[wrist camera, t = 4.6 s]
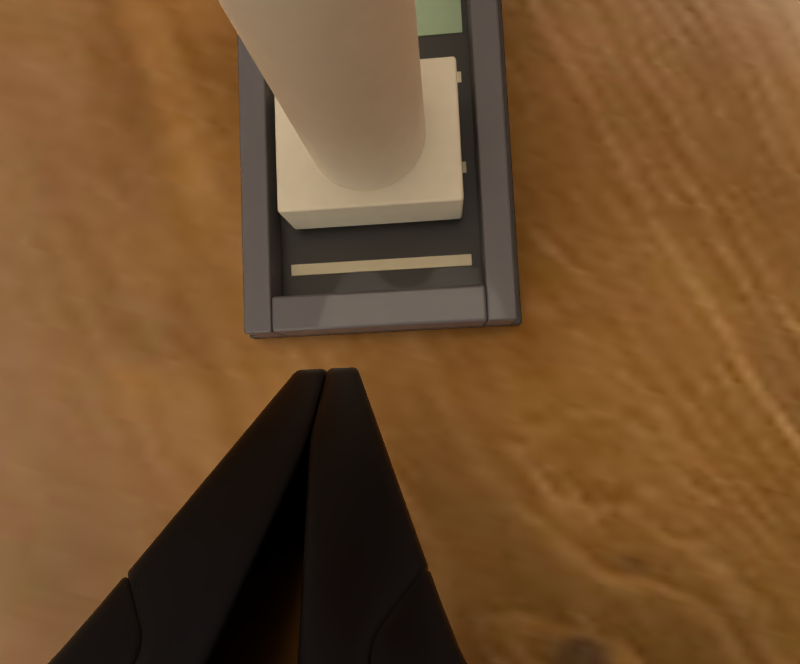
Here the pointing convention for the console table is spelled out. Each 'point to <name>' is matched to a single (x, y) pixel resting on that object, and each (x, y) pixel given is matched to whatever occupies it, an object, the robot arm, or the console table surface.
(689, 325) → the console table surface
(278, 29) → the score marker
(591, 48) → the console table surface
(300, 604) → the robot arm
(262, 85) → the tray
